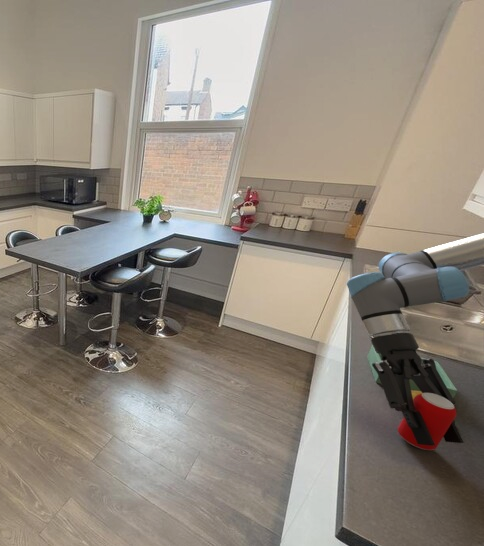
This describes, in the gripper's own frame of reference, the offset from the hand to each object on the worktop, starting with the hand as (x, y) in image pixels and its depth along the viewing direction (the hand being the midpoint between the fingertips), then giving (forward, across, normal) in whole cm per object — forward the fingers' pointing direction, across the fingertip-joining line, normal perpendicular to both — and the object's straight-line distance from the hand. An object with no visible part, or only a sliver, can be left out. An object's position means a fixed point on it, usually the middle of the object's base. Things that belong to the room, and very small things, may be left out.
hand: (440, 443), depth 66 cm
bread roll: (-6, -13, -12) cm, 18 cm away
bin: (-14, -22, -19) cm, 32 cm away
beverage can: (0, 0, -5) cm, 5 cm away
